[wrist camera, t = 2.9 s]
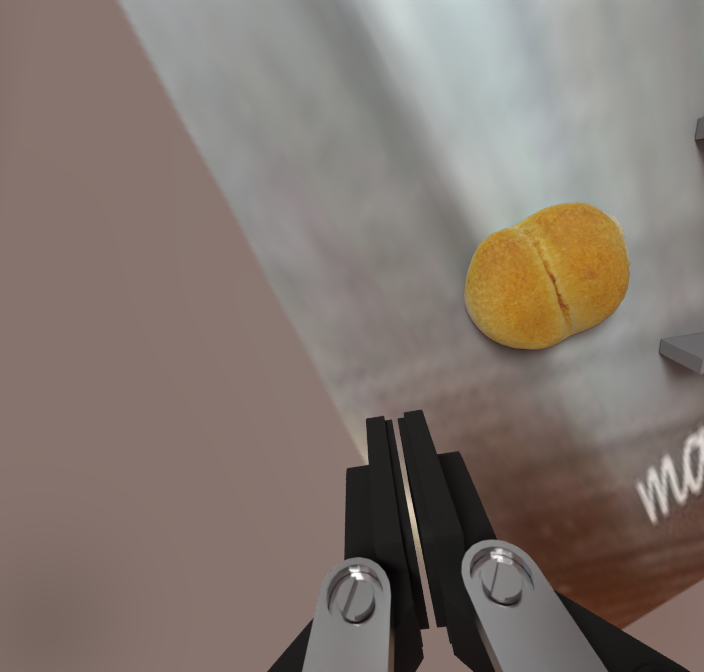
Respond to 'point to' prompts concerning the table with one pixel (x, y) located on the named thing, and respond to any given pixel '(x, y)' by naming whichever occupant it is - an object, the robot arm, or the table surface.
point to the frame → (687, 350)
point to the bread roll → (548, 276)
